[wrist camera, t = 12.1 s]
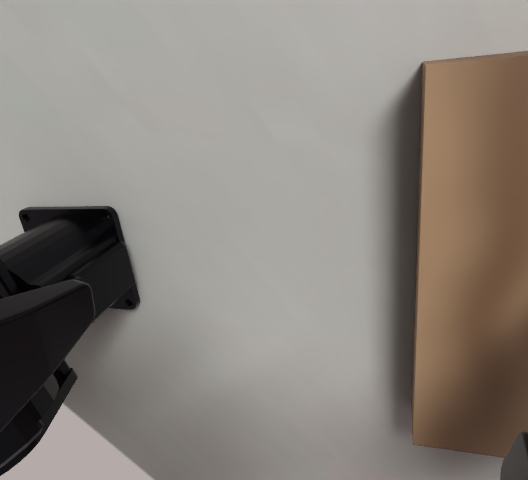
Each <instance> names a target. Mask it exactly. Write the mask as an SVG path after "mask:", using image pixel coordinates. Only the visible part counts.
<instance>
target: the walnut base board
mask: <svg viewBox="0 0 528 480" xmlns="http://www.w3.org/2000/svg"><path fill="white" fill-rule="evenodd" d="M523 431H524V432H528V51H523V52H513V53H504V54H494V55H485V56H475V57H465V58H456V59H446V60H437V61H427V62H423V65H422V97H421V128H420V160H419V191H418V223H417V254H416V286H415V317H414V349H413V380H412V434H413V445H420V446H427V447H434V448H441V449H448V450H455V451H462V452H469V453H476V454H483V455H490V456H497V457H504V458H505V457H506V455H507V453H508V451H509V449H510V448H511V446H512V444H513V442H514V440H515V438H516V437H517V435H518V434H519V433H520V432H523Z"/></svg>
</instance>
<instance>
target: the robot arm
mask: <svg viewBox="0 0 528 480" xmlns="http://www.w3.org/2000/svg"><path fill="white" fill-rule="evenodd" d="M106 214H108V216H109V218H108V217H107V216H106ZM28 216H29V217H30V218H29V217H28ZM19 218H20V221H21V223H22V226H23V229H24V232H25V233H23V234H21V235H19V236H17V237H15V238H13V239H11V240H9V241H7V242H5V243H4V244H2V245H0V476H1V475H2V474H4V473H5V472H7V471H9V470H10V469H11V468H12V467H13V466H15V465H16V464H17V463H19V462H20V461H21V460H22V459H23V458H24V457H25V456H27V455H28V454H29V453H30V452H31V451H32V449H33V448H34V447H35V446H36V445H37V444H38V442H39V441H40V440H41V438H42V437H43V435H44V434H45V432H46V430H47V429H48V427H49V425H50V424H51V422H52V420H53V419H54V417H55V415H56V413H57V412H58V410H59V408H60V407H61V405H62V403H63V402H64V400H65V398H66V396H67V395H68V393H69V391H70V390H71V388H72V386H73V385H74V383H75V381H76V379H77V378H78V377H77V375H76V373H75V372H74V370H73V369H72V368H69V366H68V364H67V363H66V361H65V360H64V359H65V357H66V356H67V355H68V353H69V352H70V351H71V349H72V348H73V347H74V345H75V344H76V343H77V341H78V340H79V339H80V337H81V336H82V335H83V333H84V332H85V331H86V329H87V328H88V327H89V325H90V324H91V323H93V322H94V321H95V320H96V319H97V318H98V317H99V316H101V315H102V314H103V313H104V312H105V311H106V310H107V309H108V308H115V309H130V310H131V309H134V308H136V307H137V306H138V305H139V303H140V299H139V295H138V292H137V288H136V284H135V280H134V276H133V272H132V268H131V265H130V261H129V257H128V253H127V249H126V246H125V242H124V238H123V235H122V231H121V227H120V223H119V219H118V216H117V213H116V211H115V210H114V209H113V208H112V207H109V206H84V207H28V208H25V209H23V210H21V211H20V212H19ZM129 299H130V300H131V301H132V302H131V301H130V300H129ZM500 480H528V432H524V431H523V432H520V433H519V434H518V435H517V437H516V438H515V440H514V442H513V444H512V446H511V448H510V449H509V451H508V453H507V455H506V457H505V459H504V461H503V464H502V468H501V478H500Z"/></svg>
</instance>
